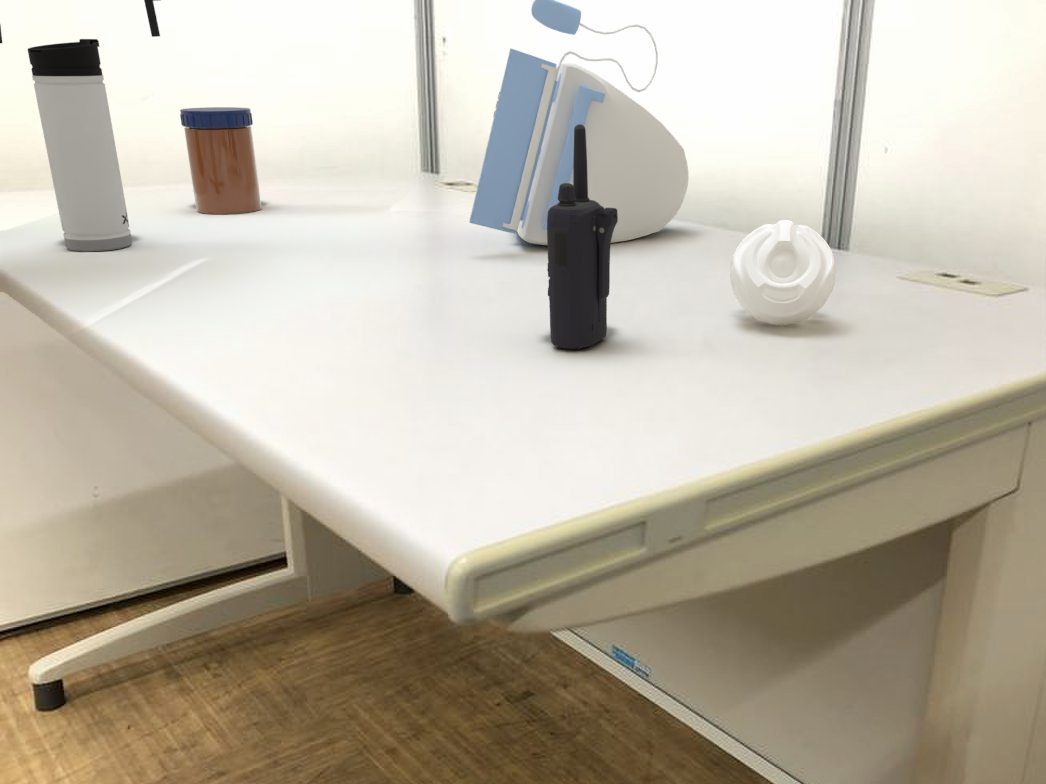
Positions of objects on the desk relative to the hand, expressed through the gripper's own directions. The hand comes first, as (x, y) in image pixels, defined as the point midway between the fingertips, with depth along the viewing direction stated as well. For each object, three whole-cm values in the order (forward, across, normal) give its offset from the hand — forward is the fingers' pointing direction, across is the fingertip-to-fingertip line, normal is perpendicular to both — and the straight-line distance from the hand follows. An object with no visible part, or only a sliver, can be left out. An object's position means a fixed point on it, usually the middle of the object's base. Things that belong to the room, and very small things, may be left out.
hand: (77, 31), depth 101 cm
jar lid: (+23, +12, +15) cm, 29 cm away
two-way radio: (-12, +31, -55) cm, 65 cm away
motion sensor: (-12, +47, -56) cm, 74 cm away
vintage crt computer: (+13, +45, -21) cm, 52 cm away
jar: (+32, +11, +8) cm, 35 cm away
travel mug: (+18, -3, -10) cm, 21 cm away
